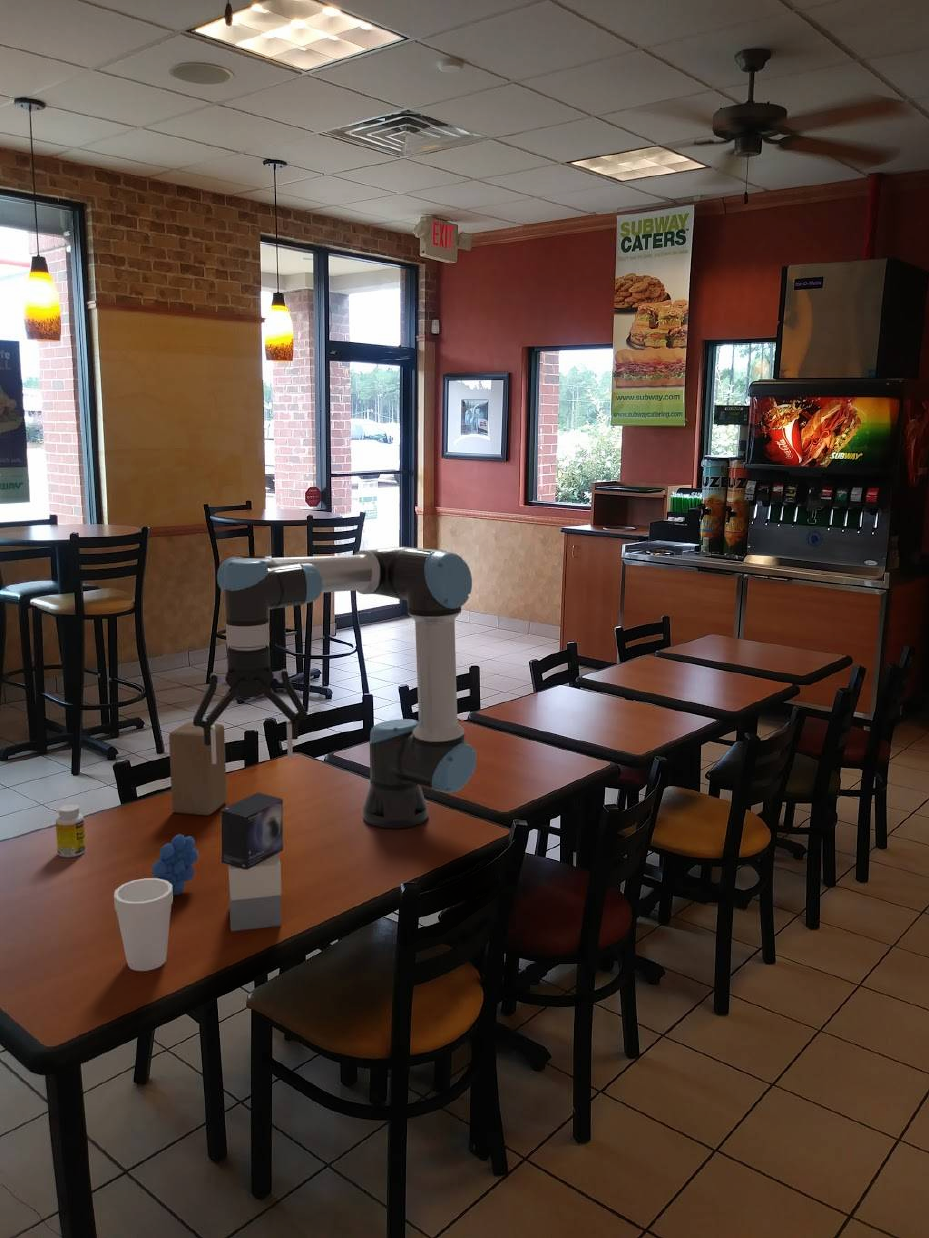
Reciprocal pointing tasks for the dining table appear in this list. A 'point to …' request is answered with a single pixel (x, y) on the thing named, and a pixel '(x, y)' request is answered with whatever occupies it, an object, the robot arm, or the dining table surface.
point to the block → (197, 770)
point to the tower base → (254, 912)
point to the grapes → (176, 862)
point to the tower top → (256, 880)
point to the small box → (252, 830)
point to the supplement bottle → (70, 831)
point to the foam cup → (144, 921)
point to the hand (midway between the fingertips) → (252, 759)
